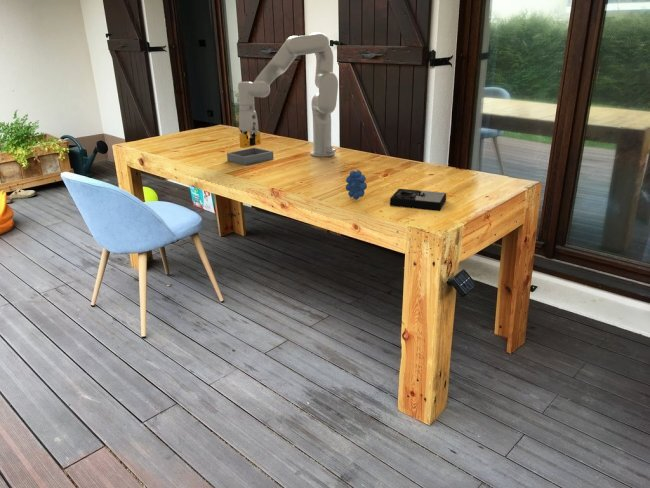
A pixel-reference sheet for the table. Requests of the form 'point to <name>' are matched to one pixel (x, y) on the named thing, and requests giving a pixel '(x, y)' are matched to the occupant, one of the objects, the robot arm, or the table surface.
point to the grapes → (356, 184)
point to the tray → (250, 156)
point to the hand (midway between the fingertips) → (249, 144)
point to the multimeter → (418, 199)
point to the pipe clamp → (248, 140)
